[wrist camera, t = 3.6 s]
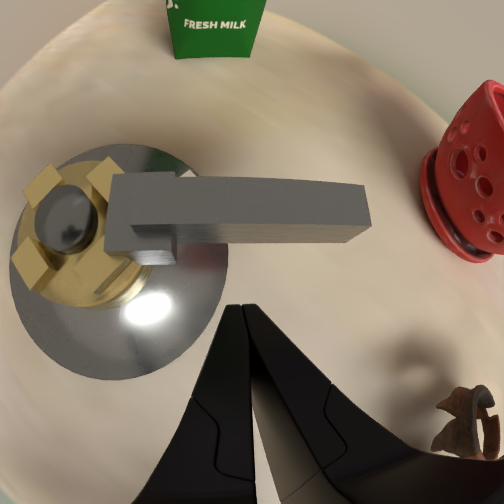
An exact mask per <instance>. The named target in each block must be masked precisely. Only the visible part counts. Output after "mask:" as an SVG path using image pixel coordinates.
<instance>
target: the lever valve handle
mask: <svg viewBox="0 0 504 504" xmlns="http://www.w3.org/2000/svg"><path fill="white" fill-rule="evenodd" d="M66 184H70V185H75V186H77V187H79V188H81V189H82V190H83V191H84V192H85V194H86V195H87V196H88V198H89V199H90V200H91V201H92V203H93V204H94V205H95V207H96V209H97V212H98V227H97V231H96V234H95V236H94V238H93V240H92V241H91V242H90V244H89V245H88V246H87V247H86V248H85V249H84V250H82V251H81V252H79V253H77V254H74V255H61V254H59V253H57V252H55V251H53V250H52V249H50V248H48V247H47V246H45V245H44V244H42V243H41V242H40V240H39V239H38V237H37V235H36V232H35V227H34V220H35V214H36V211H37V208H38V206H39V204H40V202H41V201H42V199H43V198H44V197H45V196H46V195H47V194H48V193H49V192H50V191H51V190H53V189H54V188H56V187H58V186H61V185H66ZM23 193H24V195H25V196H26V198H27V200H28V204H27V205H26V208H25V210H24V212H23V215H22V218H21V221H20V225H19V230H18V249H17V250H16V251H15V253H14V254H13V255H12V257H11V259H12V261H13V263H14V265H15V266H16V268H17V270H18V272H19V273H20V275H21V277H22V278H23V280H24V282H25V283H26V285H27V287H28V288H29V290H31V291H34V292H38V293H39V294H40V295H42V296H43V297H44V298H46V299H48V300H50V301H52V302H56V303H59V304H63V305H68V306H73V307H79V308H84V309H89V310H108V309H113V308H116V307H119V306H121V305H123V304H125V303H126V302H128V301H129V300H131V299H132V298H133V297H134V296H135V295H137V294H138V293H139V292H140V290H141V289H142V288H143V287H144V285H145V284H146V282H147V281H148V279H149V277H150V275H151V273H152V271H153V268H154V265H174V264H177V244H206V243H346V242H348V241H349V240H351V239H352V238H354V237H356V236H357V235H359V234H360V233H362V232H364V231H365V230H367V229H368V228H370V227H371V226H372V224H371V218H370V213H369V208H368V203H367V198H366V193H365V189H364V185H356V184H346V183H335V182H323V181H309V180H294V179H276V178H251V177H176V176H175V171H172V172H141V173H125V172H124V171H123V170H122V169H121V168H120V167H119V166H118V165H117V164H116V163H115V162H114V161H113V160H112V159H111V158H110V157H109V156H108V157H107V158H106V159H105V160H104V161H103V162H102V161H82V162H77V163H74V164H70V165H68V166H66V167H63V168H62V169H60V170H58V171H57V170H56V169H55V168H54V166H53V165H52V164H51V163H50V164H49V165H48V166H47V167H46V168H45V169H44V170H43V171H42V172H41V173H40V174H39V175H38V176H37V177H36V178H35V179H34V180H33V181H32V182H31V183H30V184H29V185H28V186H27V187H26V188H25V189H24V190H23Z"/></svg>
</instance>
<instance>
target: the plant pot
mask: <svg viewBox="0 0 504 504" xmlns="http://www.w3.org/2000/svg"><path fill="white" fill-rule="evenodd" d="M420 188H421V194H422V199H423V203H424V206H425V209H426V212H427V214H428V217H429V219H430V221H431V223H432V225H433V227H434V229H435V230H436V232H437V233H438V235H439V236H440V238H441V239H442V241H443V242H444V243H445V244H446V245H447V247H448V248H449V249H450V250H451V251H452V252H454V253H455V254H456V255H457V256H459V257H460V258H462V259H464V260H466V261H468V262H472V263H482V262H485V261H488V260H489V259H490V258H491V257H492V256H493V255H494V254H500V255H504V86H503V85H501V84H500V83H498V82H496V81H493V80H487V81H485V82H484V83H483V84H482V85H481V86H480V87H479V88H478V89H477V90H476V91H475V92H474V93H473V94H472V95H471V96H470V97H469V98H468V100H467V101H466V102H465V103H464V104H463V106H462V107H461V108H460V109H459V111H458V112H457V114H456V115H455V117H454V119H453V121H452V122H451V124H450V125H449V127H448V128H447V130H446V131H445V133H444V136H443V138H442V140H441V143H440V145H439V147H437V148H434V149H432V150H431V151H429V152H428V153H427V155H426V156H425V158H424V160H423V162H422V166H421V171H420Z"/></svg>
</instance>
